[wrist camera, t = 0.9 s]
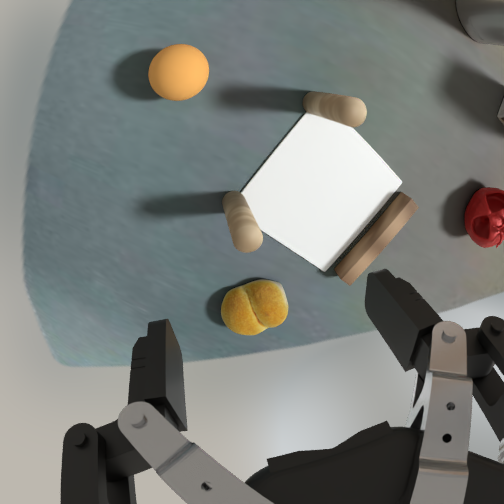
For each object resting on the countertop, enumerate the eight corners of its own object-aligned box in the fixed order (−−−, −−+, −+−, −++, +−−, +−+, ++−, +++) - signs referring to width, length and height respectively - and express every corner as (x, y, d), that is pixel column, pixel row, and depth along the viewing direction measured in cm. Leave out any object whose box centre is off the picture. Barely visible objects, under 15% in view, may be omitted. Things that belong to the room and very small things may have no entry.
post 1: (231, 186, 34) (245, 220, 27) (250, 198, 36) (268, 235, 28) (217, 204, 35) (227, 243, 28) (236, 216, 36) (250, 257, 29)
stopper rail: (400, 191, 39) (411, 198, 37) (408, 200, 40) (418, 207, 37) (333, 269, 43) (341, 279, 41) (342, 275, 44) (350, 285, 42)
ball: (174, 37, 25) (171, 28, 21) (218, 66, 28) (224, 63, 23) (141, 81, 27) (131, 81, 22) (185, 109, 29) (184, 114, 25)
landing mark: (319, 96, 31) (320, 96, 31) (401, 181, 38) (402, 182, 38) (228, 208, 36) (228, 209, 36) (324, 271, 43) (324, 272, 43)
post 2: (312, 86, 30) (352, 90, 23) (329, 102, 31) (371, 111, 24) (297, 104, 31) (333, 113, 23) (315, 119, 32) (353, 133, 25)
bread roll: (210, 293, 41) (213, 313, 38) (275, 268, 41) (283, 286, 38) (233, 333, 46) (237, 353, 42) (291, 311, 46) (299, 330, 42)
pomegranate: (500, 198, 43) (536, 222, 35) (473, 243, 47) (506, 271, 39) (479, 169, 39) (522, 192, 32) (449, 220, 43) (488, 249, 35)
